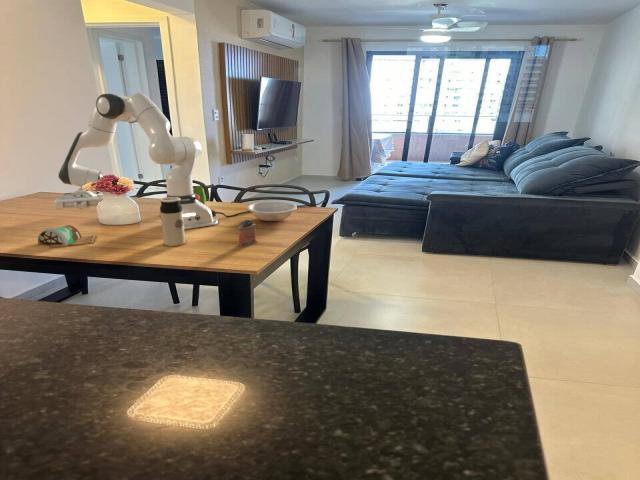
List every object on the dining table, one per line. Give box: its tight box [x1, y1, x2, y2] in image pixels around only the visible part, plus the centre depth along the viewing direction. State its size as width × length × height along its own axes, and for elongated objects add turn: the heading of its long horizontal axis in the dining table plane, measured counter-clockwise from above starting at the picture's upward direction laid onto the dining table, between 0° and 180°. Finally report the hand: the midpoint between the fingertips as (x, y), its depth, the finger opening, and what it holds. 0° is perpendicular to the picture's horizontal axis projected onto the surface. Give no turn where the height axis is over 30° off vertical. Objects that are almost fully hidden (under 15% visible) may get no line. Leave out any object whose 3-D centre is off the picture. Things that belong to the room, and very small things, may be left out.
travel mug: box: [159, 196, 186, 247], centre depth 149 cm, size 8×8×18 cm
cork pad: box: [49, 235, 96, 248], centre depth 151 cm, size 14×9×1 cm, turn 112°
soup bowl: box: [246, 200, 298, 222], centre depth 186 cm, size 24×24×7 cm
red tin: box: [237, 218, 257, 247], centre depth 151 cm, size 8×3×10 cm, turn 141°
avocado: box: [193, 185, 207, 205], centre depth 205 cm, size 8×8×12 cm
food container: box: [37, 224, 82, 247], centre depth 149 cm, size 12×6×10 cm
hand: (78, 206), depth 166 cm, fingers closed
